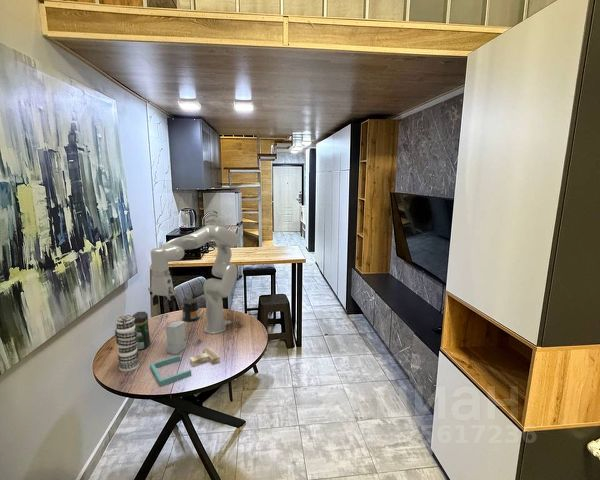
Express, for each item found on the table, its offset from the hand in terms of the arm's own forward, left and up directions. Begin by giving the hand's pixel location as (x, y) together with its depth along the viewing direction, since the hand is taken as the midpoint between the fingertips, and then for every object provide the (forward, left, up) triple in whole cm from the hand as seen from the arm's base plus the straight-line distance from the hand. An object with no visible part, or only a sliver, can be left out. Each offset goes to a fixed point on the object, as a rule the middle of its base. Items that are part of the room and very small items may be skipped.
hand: (163, 305), depth 162 cm
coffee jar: (+9, -16, -26) cm, 32 cm away
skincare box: (-5, 0, -26) cm, 27 cm away
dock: (+3, +19, -26) cm, 32 cm away
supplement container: (-25, -36, -26) cm, 51 cm away
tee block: (-12, +19, -26) cm, 34 cm away
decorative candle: (+18, +2, -26) cm, 32 cm away
